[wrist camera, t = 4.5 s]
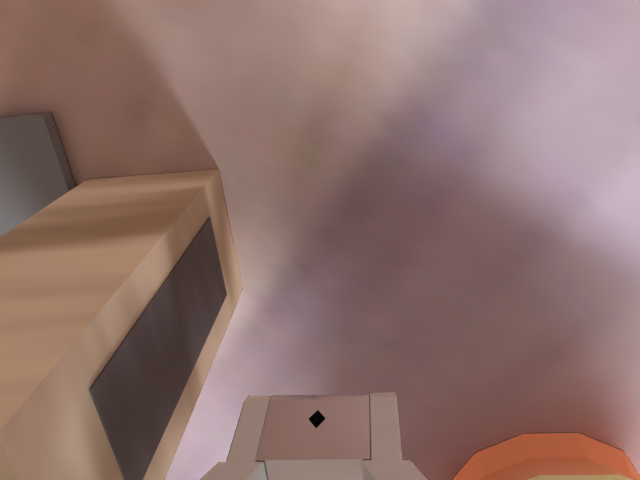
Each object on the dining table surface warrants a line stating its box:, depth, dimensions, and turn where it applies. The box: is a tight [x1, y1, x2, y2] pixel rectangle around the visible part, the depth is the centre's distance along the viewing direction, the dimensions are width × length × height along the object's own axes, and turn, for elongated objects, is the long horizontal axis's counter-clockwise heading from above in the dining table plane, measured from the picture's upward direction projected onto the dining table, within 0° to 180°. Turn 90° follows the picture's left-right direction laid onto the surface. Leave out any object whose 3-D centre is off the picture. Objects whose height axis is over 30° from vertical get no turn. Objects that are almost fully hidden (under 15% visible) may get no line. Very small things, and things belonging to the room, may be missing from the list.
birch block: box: [0, 169, 243, 480], centre depth 14 cm, size 5×5×12 cm
